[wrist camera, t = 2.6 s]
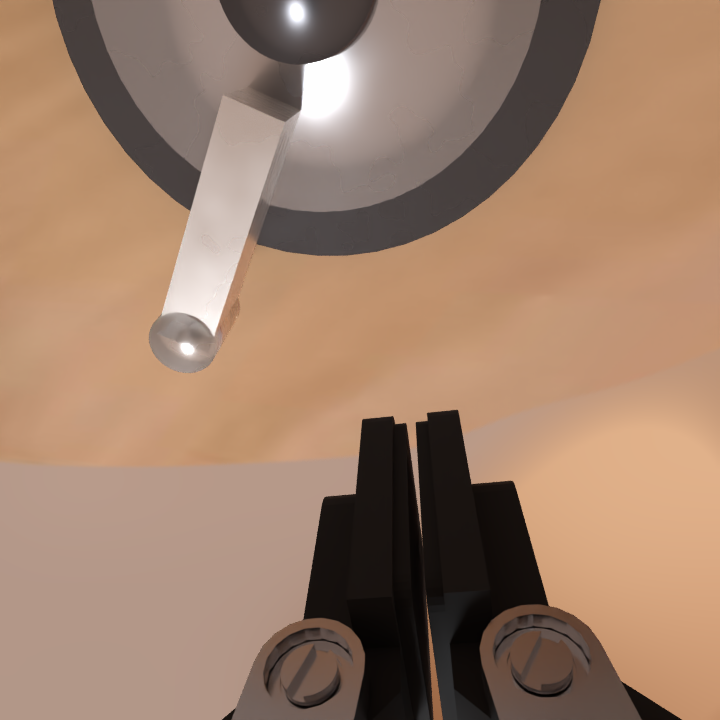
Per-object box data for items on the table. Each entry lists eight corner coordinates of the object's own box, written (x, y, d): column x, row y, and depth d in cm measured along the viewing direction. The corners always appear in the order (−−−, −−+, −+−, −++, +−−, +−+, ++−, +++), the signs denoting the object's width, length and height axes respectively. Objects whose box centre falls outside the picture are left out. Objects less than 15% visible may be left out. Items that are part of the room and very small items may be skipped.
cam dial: (165, -416, 14) (70, -597, 10) (623, -164, 15) (699, -234, 11) (51, 248, 22) (-27, 297, 18) (364, 371, 23) (356, 440, 19)
